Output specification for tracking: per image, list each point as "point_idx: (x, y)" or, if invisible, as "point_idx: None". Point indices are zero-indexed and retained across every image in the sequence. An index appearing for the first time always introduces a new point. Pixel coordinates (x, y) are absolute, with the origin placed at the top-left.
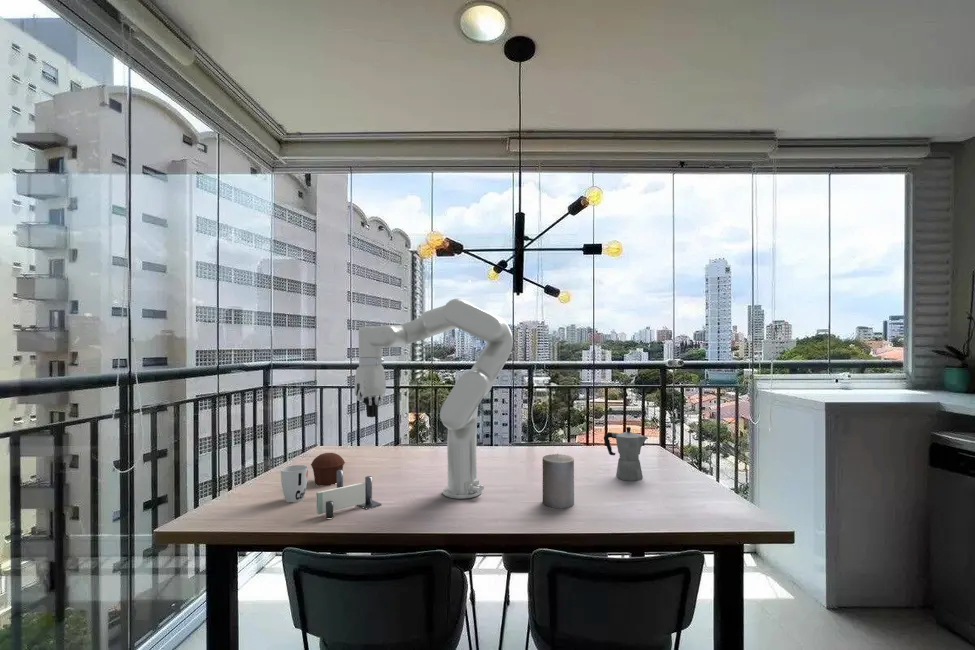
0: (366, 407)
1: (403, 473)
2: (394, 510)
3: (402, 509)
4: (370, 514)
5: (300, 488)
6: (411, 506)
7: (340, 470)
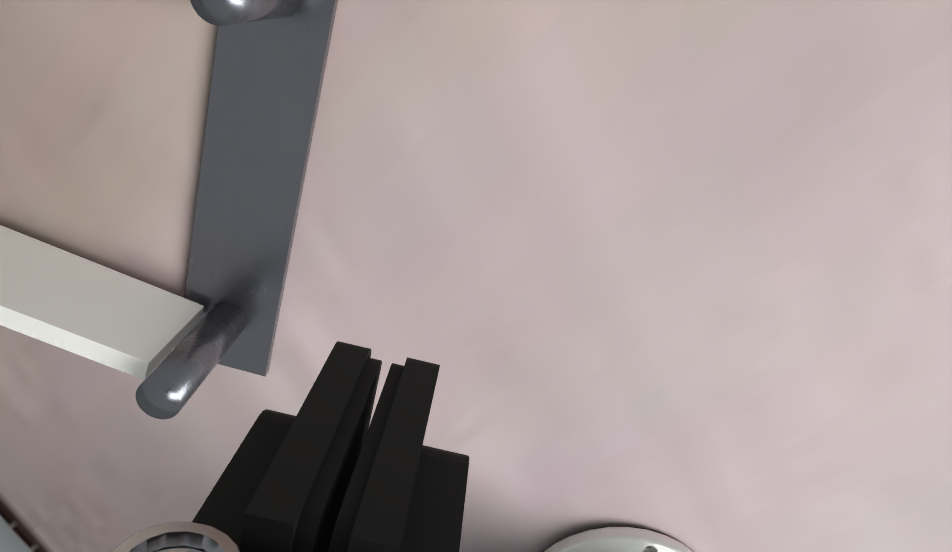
0: (196, 516)
1: (905, 91)
2: None
3: None
4: None
5: None
6: None
7: (220, 2)
